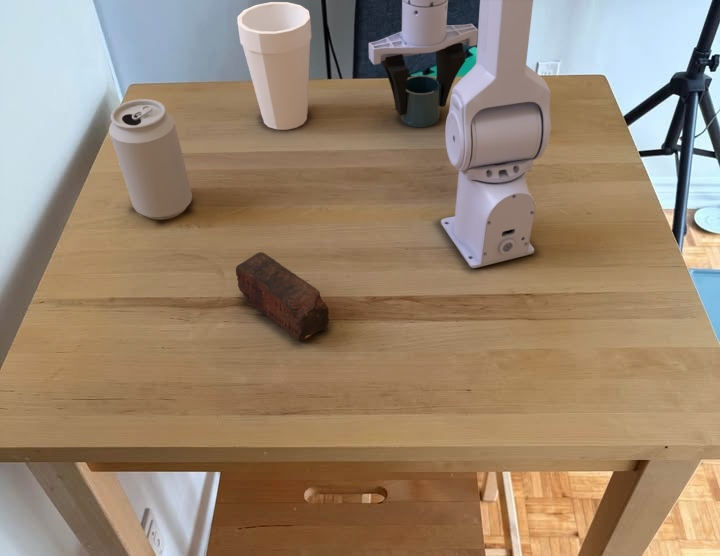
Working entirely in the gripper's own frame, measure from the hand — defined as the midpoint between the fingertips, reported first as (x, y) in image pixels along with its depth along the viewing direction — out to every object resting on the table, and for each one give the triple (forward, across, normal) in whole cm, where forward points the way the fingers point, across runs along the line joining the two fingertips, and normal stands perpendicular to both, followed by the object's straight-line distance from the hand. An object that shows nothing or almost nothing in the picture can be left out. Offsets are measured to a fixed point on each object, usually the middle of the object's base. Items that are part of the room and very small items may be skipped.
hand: (420, 107), depth 100 cm
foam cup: (+2, +18, -7) cm, 19 cm away
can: (+2, +38, +8) cm, 39 cm away
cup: (+1, 0, 0) cm, 1 cm away
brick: (+2, +29, +33) cm, 44 cm away
